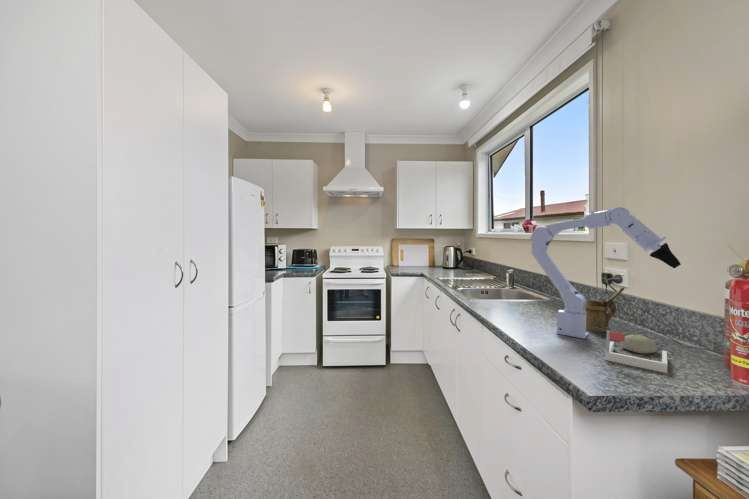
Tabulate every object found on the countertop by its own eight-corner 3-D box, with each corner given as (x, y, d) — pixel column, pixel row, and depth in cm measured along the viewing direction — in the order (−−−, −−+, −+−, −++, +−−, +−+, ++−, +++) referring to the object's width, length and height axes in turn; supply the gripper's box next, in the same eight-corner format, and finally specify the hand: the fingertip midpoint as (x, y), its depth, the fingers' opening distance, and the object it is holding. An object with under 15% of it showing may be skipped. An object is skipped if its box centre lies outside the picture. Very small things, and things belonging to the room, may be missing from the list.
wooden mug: (622, 335, 121) (624, 289, 120) (580, 329, 129) (582, 285, 128) (622, 330, 128) (624, 286, 127) (582, 324, 136) (584, 283, 135)
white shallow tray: (605, 360, 97) (606, 331, 97) (610, 348, 107) (611, 322, 107) (667, 373, 88) (668, 341, 88) (666, 359, 98) (667, 330, 98)
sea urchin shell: (666, 350, 100) (647, 332, 101) (646, 366, 102) (626, 348, 103) (648, 341, 109) (630, 324, 110) (629, 355, 111) (611, 338, 112)
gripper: (652, 226, 101) (692, 259, 96) (653, 226, 112) (688, 255, 107) (631, 241, 105) (668, 273, 100) (633, 239, 116) (666, 268, 110)
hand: (677, 265), depth 103 cm, fingers open, 7 cm apart
